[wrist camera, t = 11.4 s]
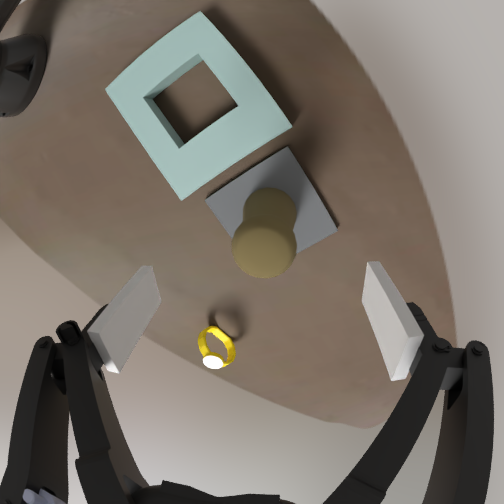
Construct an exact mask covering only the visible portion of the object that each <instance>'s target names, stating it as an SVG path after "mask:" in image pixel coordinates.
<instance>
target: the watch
mask: <svg viewBox="0 0 504 504" xmlns="http://www.w3.org/2000/svg"><path fill="white" fill-rule="evenodd" d="M207 332H212V333H213V334H214V335H215V336H217V337H218V338H219V339H220V340H221V341H223V342H224V344H225V346H226V348H227V351H228V359H227V362H226V361H224V359H223V357H222V356H221V355H220V354H218V353H215V352H211V351H210V349H209V348H208V346H207V343H206V338H205V337H206V333H207ZM198 345H199V349H200V351H201V353H202V355H203V356H204V358H203V363H204V364H205V365H206V366H207V367H209V368H212V369H219V368H221V367H224V366H226V365H228V364H230V363H231V362H233V361H234V359H235V356H236V352H235V346H234V344H233V342H232V340H231V338H230V337H228V336H227V335H226V334H225V333H224V332H223V331H221V330H220V329H219V328H218V327H217V326H209V327H208V328H206V329H205V330H203V331H202V332H200V333H199V337H198Z"/></svg>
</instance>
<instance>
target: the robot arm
mask: <svg viewBox="0 0 504 504" xmlns="http://www.w3.org/2000/svg"><path fill="white" fill-rule="evenodd" d="M20 1H21V0H0V32H1V31H2V29H3V27H4V26H5V24H6V22H7V21H8V19H9V18H10V16H11V15H12V13H13V12H14V10H15V9H16V7H17V6H18V4H19V3H20ZM46 56H47V48H46V43H45V41H44V39H43V38H42V37H41V36H39V35H34V34H24V35H21V36H16V37H12V38H8V39H5V40H1V41H0V117H12V116H16V115H18V114H20V113H21V112H22V111H23V110H25V108H26V107H27V106H28V105H29V103H30V102H31V100H32V99H33V97H34V95H35V93H36V91H37V89H38V87H39V84H40V82H41V79H42V76H43V72H44V68H45V64H46ZM362 303H363V305H364V308H365V310H366V313H367V315H368V318H369V320H370V323H371V325H372V328H373V331H374V333H375V336H376V339H377V341H378V344H379V347H380V350H381V352H382V355H383V358H384V361H385V364H386V367H387V370H388V373H389V376H390V379H391V381H394V380H400V379H405V378H406V376H407V374H408V372H409V370H410V373H411V375H412V377H411V379H410V381H409V383H408V385H407V387H406V389H405V391H404V392H403V394H402V396H401V398H400V400H399V401H398V403H397V405H396V407H395V408H394V410H393V412H392V413H391V415H390V417H389V418H388V420H387V422H386V423H385V425H384V426H383V428H382V430H381V431H380V433H379V434H378V436H377V437H376V438H375V440H374V441H373V443H372V444H371V446H370V447H369V449H368V450H367V451H366V453H365V454H364V455H363V457H362V458H361V459H360V461H359V462H358V463H357V465H356V466H355V467H354V469H353V470H352V471H351V472H350V473H349V475H348V476H347V477H346V478H345V479H344V480H343V482H342V483H341V484H340V485H339V486H338V487H337V489H336V490H335V491H334V492H333V493H332V494H331V495H330V496H329V497H328V498H327V500H326V501H325V502H324V503H323V504H380V503H381V502H382V500H383V499H384V497H385V495H386V491H387V489H388V487H389V486H390V484H391V483H392V481H393V480H394V478H395V477H396V475H397V474H398V472H399V470H400V469H401V467H402V465H403V464H404V462H405V461H406V459H407V457H408V455H409V453H410V452H411V450H412V448H413V446H414V444H415V443H416V440H417V439H418V437H419V435H420V433H421V431H422V429H423V427H424V424H425V422H426V420H427V418H428V416H429V414H430V411H431V409H432V407H433V405H434V402H435V400H436V397H437V395H438V392H439V390H441V389H442V390H445V396H444V406H443V415H442V422H441V429H440V436H439V441H438V446H437V451H436V456H435V461H434V465H433V469H432V473H431V477H430V480H429V484H428V487H427V491H426V494H425V497H424V500H423V503H422V504H484V503H485V499H486V494H487V489H488V483H489V477H490V470H491V461H492V451H493V435H494V404H493V403H494V401H493V385H492V374H491V364H490V357H489V351H488V348H487V347H486V346H485V344H483V343H482V342H479V341H471V342H469V343H468V344H467V346H466V348H465V349H462V348H453V347H452V346H451V344H450V343H449V342H448V341H447V340H445V339H443V338H439V337H438V336H437V335H436V333H435V331H434V330H433V328H432V326H431V325H430V323H429V321H427V318H426V316H425V315H424V313H423V312H422V310H421V309H420V307H418V306H417V305H416V304H415V303H413V302H411V303H405V301H404V300H403V298H402V296H401V295H400V293H399V291H398V290H397V288H396V287H395V285H394V283H393V282H392V280H391V279H390V277H389V276H388V274H387V272H386V271H385V269H384V268H383V266H382V265H381V263H380V262H379V261H375V262H367V269H366V276H365V283H364V289H363V295H362ZM160 304H161V298H160V294H159V291H158V287H157V283H156V279H155V275H154V271H153V267H152V266H141V267H140V268H139V270H138V271H137V272H136V273H135V274H134V275H133V276H132V278H131V279H130V280H129V281H128V282H127V283H126V284H125V286H124V287H123V288H122V289H121V290H120V291H119V293H118V294H117V295H116V296H115V297H114V299H113V300H112V301H111V302H110V303H109V304H106V305H105V306H103V307H102V308H101V309H100V310H99V311H98V312H97V313H96V315H95V316H94V317H93V318H92V320H91V321H90V322H89V323H88V324H87V325H86V327H85V328H84V329H83V330H82V332H81V331H80V328H79V327H78V324H77V322H75V321H71V320H70V321H66V322H64V323H62V324H61V325H59V326H58V328H57V329H56V333H57V335H58V337H59V339H60V341H61V343H55V342H54V341H53V339H52V337H50V336H45V337H42V338H40V339H39V340H38V341H37V342H36V343H35V345H34V348H33V351H32V354H31V357H30V360H29V363H28V366H27V369H26V372H25V376H24V379H23V383H22V386H21V390H20V394H19V398H18V402H17V407H16V411H15V416H14V421H13V427H12V433H11V440H10V447H9V455H8V465H7V468H6V471H5V474H4V476H3V479H2V482H1V485H0V504H68V494H69V493H68V461H67V459H68V458H67V456H68V453H67V451H68V424H69V411H70V416H71V421H72V426H73V431H74V436H75V440H76V444H77V448H78V452H79V456H80V457H79V459H76V460H75V465H76V470H77V473H78V476H79V480H80V483H81V486H82V489H83V492H84V495H85V498H86V500H87V503H88V504H295V503H293V502H289V501H286V500H282V499H280V495H265V494H244V495H236V496H227V497H216V496H213V495H210V494H207V493H205V492H202V491H200V490H197V489H195V488H192V487H190V486H186V485H182V484H177V483H173V482H169V481H164V480H163V481H162V484H161V485H155V486H149V484H148V483H147V482H146V480H145V479H144V478H143V477H142V475H141V473H140V471H139V469H138V467H137V465H136V463H135V461H134V458H133V456H132V454H131V452H130V449H129V447H128V445H127V442H126V440H125V438H124V435H123V432H122V430H121V427H120V424H119V421H118V419H117V416H116V413H115V410H114V407H113V404H112V401H111V398H110V395H109V392H108V388H107V384H106V381H105V377H104V374H103V371H102V370H101V367H102V365H103V364H104V365H105V366H106V368H107V370H108V371H110V372H115V373H120V372H121V370H122V368H123V366H124V365H125V363H126V361H127V359H128V357H129V356H130V354H131V352H132V351H133V349H134V347H135V345H136V344H137V342H138V340H139V339H140V337H141V335H142V333H143V332H144V330H145V328H146V327H147V325H148V323H149V322H150V320H151V318H152V317H153V315H154V313H155V312H156V310H157V309H158V307H159V305H160ZM279 500H280V501H279Z"/></svg>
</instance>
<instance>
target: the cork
mask: <svg viewBox="0 0 504 504" xmlns="http://www.w3.org/2000/svg"><path fill="white" fill-rule="evenodd" d="M296 215H297V211H296V207H295V204H294V202H293V200H292V199H291V197H290V196H289V195H288V194H286V193H285V192H284V191H282V190H279V189H277V188H268V187H267V188H263V189H258V190H257V191H255V192H254V193H252V194H251V195H250V196H249V197H248V198H247V200H246V201H245V204H244V207H243V222H242V223H241V224H240V225H239V227H238V228H237V229H236V231H235V233H234V236H233V239H232V253H233V256H234V260H235V262H236V263H237V265H238V266H239V267H240V269H242V270H243V271H244V272H246V273H247V274H249V275H251V276H254V277H257V278H272V277H276V276H278V275H280V274H282V273H284V272H285V271H286V270H287V269H288V268H289V267H290V266H291V264H292V262H293V260H294V258H295V256H296V251H297V242H296V238H295V233H294V232H293V229H294V225H295V222H296Z"/></svg>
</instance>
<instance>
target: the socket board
mask: <svg viewBox="0 0 504 504" xmlns="http://www.w3.org/2000/svg"><path fill="white" fill-rule="evenodd" d="M202 60H204V61H205V63H206V64H207V65H208V66H209V68H210V69H211V70H212V71H213V73H214V74H215V75H216V76H217V78H218V79H219V80H220V82H221V83H222V84H223V86H224V87H225V88H226V89H227V91H228V92H229V93H230V95H231V96H232V97H233V99H234V100H235V102H236V103H237V104H238V107H236V108H235V109H233V110H232V111H230V112H229V113H227V114H226V115H224V116H223V117H221V118H220V119H218V120H217V121H216V122H214V123H213V124H211V125H210V126H209V127H207V128H206V129H204V130H203V131H202V132H200V133H199V134H198V135H196V136H195V137H194V138H192V139H191V140H190V141H188V142H187V143H186V144H184V143H183V141H182V140H181V139H180V137H179V136H178V134H177V133H176V132H175V130H174V129H173V127H172V126H171V124H170V123H169V122H168V120H167V119H166V117H165V116H164V115H163V113H162V112H161V110H160V109H159V108H158V106H157V105H156V103H155V102H154V101H153V99H154V98H155V97H156V96H157V95H158V94H159V93H161V92H162V91H163V90H164V89H165V88H167V87H168V86H169V85H170V84H172V83H173V82H174V81H175V80H177V79H178V78H179V77H181V76H182V75H183V74H184V73H186V72H187V71H189V70H190V69H191V68H193V67H194V66H195V65H197V64H198V63H200V62H201V61H202ZM105 90H106V92H107V93H108V95H109V96H110V98H111V99H112V101H113V102H114V104H115V105H116V107H117V108H118V110H119V111H120V113H121V114H122V116H123V117H124V119H125V120H126V122H127V123H128V125H129V126H130V128H131V129H132V131H133V132H134V134H135V135H136V136H137V138H138V139H139V141H140V142H141V144H142V145H143V147H144V148H145V150H146V151H147V152H148V154H149V155H150V157H151V158H152V160H153V161H154V163H155V164H156V165H157V167H158V168H159V170H160V171H161V173H162V174H163V175H164V177H165V178H166V180H167V181H168V183H169V184H170V185H171V187H172V188H173V190H174V191H175V192H176V194H177V195H178V197H179V198H180V199H181V201H182V200H183V199H185V198H186V197H188V196H189V195H190V194H192V193H193V192H194V191H196V190H197V189H199V188H200V187H201V186H203V185H204V184H206V183H207V182H208V181H210V180H211V179H213V178H214V177H216V176H217V175H218V174H220V173H221V172H223V171H224V170H226V169H227V168H229V167H230V166H232V165H233V164H235V163H236V162H238V161H239V160H241V159H242V158H244V157H245V156H247V155H248V154H250V153H251V152H253V151H254V150H256V149H258V148H259V147H261V146H262V145H264V144H266V143H267V142H269V141H270V140H272V139H274V138H275V137H277V136H278V135H280V134H282V133H283V132H285V131H287V130H288V129H290V128H292V125H291V124H290V122H289V121H288V119H287V118H286V116H285V115H284V113H283V112H282V111H281V109H280V108H279V106H278V105H277V104H276V102H275V101H274V99H273V98H272V97H271V95H270V94H269V92H268V91H267V90H266V88H265V87H264V86H263V84H262V83H261V82H260V80H259V79H258V78H257V77H256V75H255V74H254V73H253V71H252V70H251V69H250V68H249V66H248V65H247V64H246V63H245V61H244V60H243V59H242V58H241V56H240V55H239V54H238V53H237V52H236V50H235V49H234V48H233V47H232V46H231V44H230V43H229V42H228V41H227V40H226V39H225V37H224V36H223V35H222V34H221V33H220V32H219V31H218V30H217V28H216V27H215V26H214V25H213V24H212V23H211V22H210V21H209V20H208V19H207V18H206V17H205V15H204V14H203V13H202V12H201V11H200V12H198V13H196V14H195V15H193V16H192V17H190V18H189V19H187V20H186V21H184V22H183V23H182V24H180V25H179V26H177V27H176V28H175V29H173V30H172V31H170V32H169V33H168V34H166V35H165V36H164V37H163V38H161V39H160V40H159V41H157V42H156V43H155V44H154V45H152V46H151V47H150V48H149V49H148V50H146V51H145V52H144V53H143V54H142V55H141V56H139V57H138V58H137V59H136V60H135V61H134V62H133V63H132V64H131V65H129V66H128V67H127V68H126V69H125V70H124V71H123V72H122V73H121V74H120V75H119V76H118V77H117V78H116V79H115V80H114V81H113V82H112V83H111V84H110V85H109V86H108V87H107V88H106V89H105Z"/></svg>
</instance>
